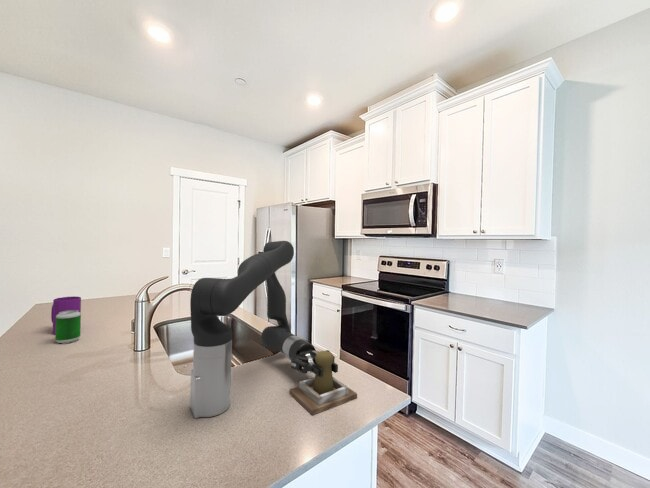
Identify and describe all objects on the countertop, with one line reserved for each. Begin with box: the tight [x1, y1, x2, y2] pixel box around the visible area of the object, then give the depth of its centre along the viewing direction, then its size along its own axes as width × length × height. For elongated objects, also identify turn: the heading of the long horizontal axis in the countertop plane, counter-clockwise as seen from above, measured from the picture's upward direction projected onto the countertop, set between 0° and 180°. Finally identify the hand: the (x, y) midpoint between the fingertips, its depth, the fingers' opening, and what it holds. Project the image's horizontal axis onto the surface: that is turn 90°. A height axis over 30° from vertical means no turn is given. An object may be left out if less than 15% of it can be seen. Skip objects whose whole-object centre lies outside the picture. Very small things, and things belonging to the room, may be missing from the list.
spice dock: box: [288, 376, 358, 416], centre depth 81 cm, size 15×12×3 cm
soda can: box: [55, 310, 82, 344], centre depth 116 cm, size 8×8×12 cm
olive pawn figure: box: [313, 350, 335, 395], centre depth 81 cm, size 6×6×11 cm
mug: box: [50, 296, 82, 335], centre depth 128 cm, size 9×16×15 cm, turn 68°
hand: (329, 371), depth 78 cm, fingers open, 4 cm apart
